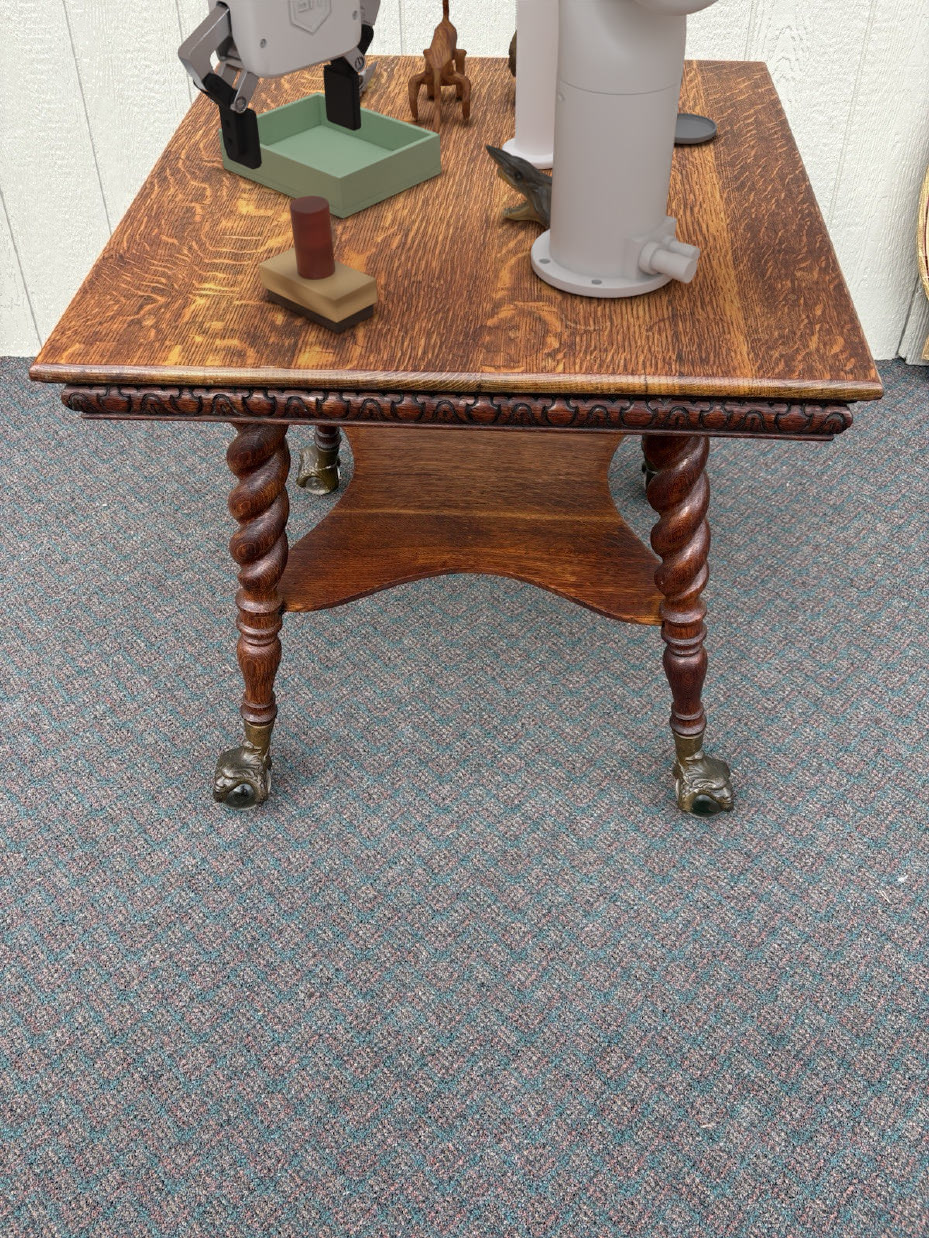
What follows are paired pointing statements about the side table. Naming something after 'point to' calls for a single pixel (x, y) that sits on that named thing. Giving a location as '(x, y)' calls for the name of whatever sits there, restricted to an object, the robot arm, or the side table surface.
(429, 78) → the wooden animal figurine
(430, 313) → the side table surface
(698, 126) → the dark grey round piece
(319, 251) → the stamp
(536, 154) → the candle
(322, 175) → the tray
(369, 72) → the pocket knife
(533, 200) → the shark head
